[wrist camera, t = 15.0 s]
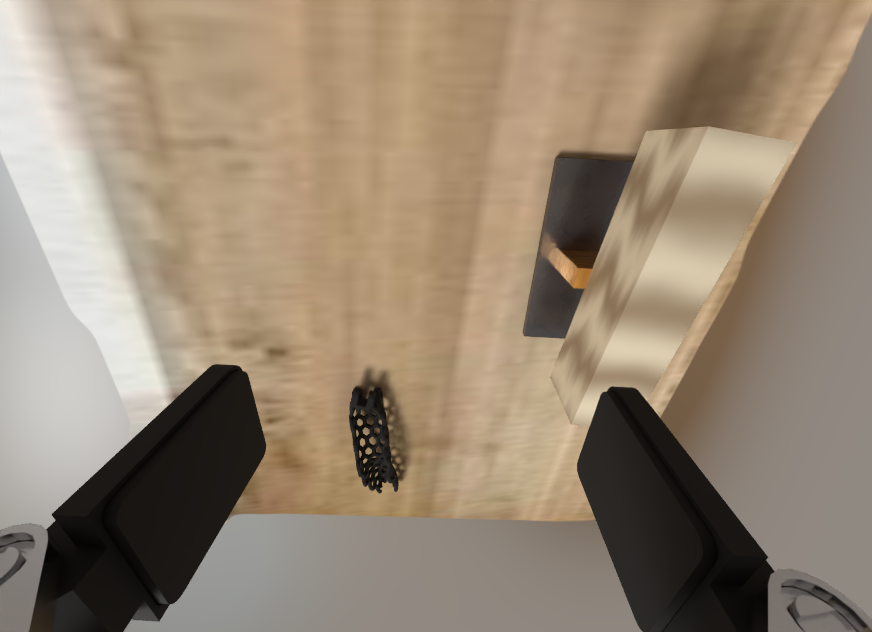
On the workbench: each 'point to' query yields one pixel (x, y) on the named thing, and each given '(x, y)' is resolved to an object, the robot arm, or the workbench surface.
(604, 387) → the maple bar
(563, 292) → the stand
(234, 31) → the workbench surface
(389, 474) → the decorative element
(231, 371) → the robot arm
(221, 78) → the workbench surface
